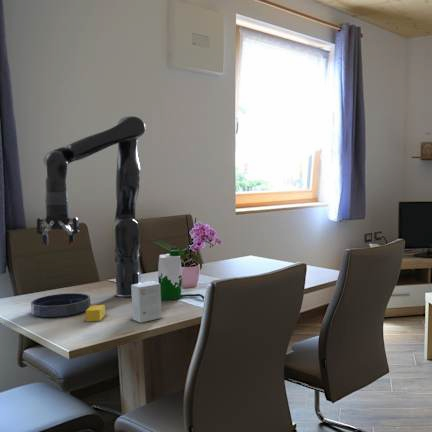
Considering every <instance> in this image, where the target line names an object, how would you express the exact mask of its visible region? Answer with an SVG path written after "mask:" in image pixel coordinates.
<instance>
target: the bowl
mask: <svg viewBox="0 0 432 432" xmlns="http://www.w3.org/2000/svg"><path fill="white" fill-rule="evenodd" d="M90 306H91V296H90V295H89V294H86V293H80V292H79V293H78V292H69V293H66V292H65V293H56V294H49V295H45V296H41V297H37V298H35V299H33V300H31V301H30V312H31V315H32V316H34V317H40V318H64V317H69V316H75V315H78V314H81V313H83V312H86V310H87V309H88V308H89V307H90Z"/></svg>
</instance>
